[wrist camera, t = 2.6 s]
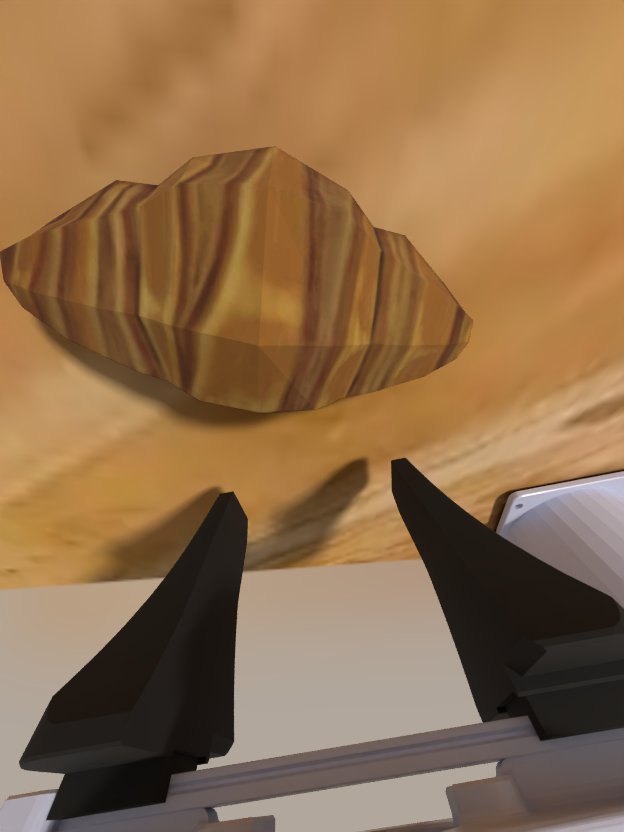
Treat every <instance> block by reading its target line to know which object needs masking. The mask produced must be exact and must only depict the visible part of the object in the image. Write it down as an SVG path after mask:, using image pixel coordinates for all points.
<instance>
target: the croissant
mask: <svg viewBox="0 0 624 832" xmlns="http://www.w3.org/2000/svg"><path fill="white" fill-rule="evenodd" d="M0 259H1V265H2V272H3V279H4V282H5V283H6V285H7V286H8V287H9V289H10V290H11V292H12V293H13V294H14V296H15V297H16V299H17V300H18V302H19V303H20V304H21V306H22V307H23V308H24V309H26V310H27V311H28V312H30V313H31V314H33V315H34V316H35V317H37V318H38V319H40V320H41V321H43V322H44V323H45V324H47V325H48V326H50V327H51V328H52V329H54V330H55V331H57V332H58V333H60V334H61V335H62V336H64V337H65V338H67V339H68V340H70V341H73V342H75V343H77V344H79V345H81V346H83V347H85V348H88V349H90V350H92V351H94V352H96V353H98V354H101V355H103V356H105V357H107V358H109V359H111V360H114V361H116V362H118V363H120V364H122V365H124V366H127V367H129V368H131V369H133V370H135V371H138V372H141V373H144V374H147V375H150V376H153V377H156V378H159V379H163V380H166V381H168V382H170V383H171V384H173V385H175V386H176V387H178V388H180V389H181V390H183V391H185V392H186V393H188V394H190V395H191V396H193V397H194V398H196V399H198V400H199V401H204V402H209V403H214V404H218V405H223V406H228V407H233V408H238V409H242V410H247V411H252V412H257V413H275V412H289V411H304V410H316V409H318V408H321V407H323V406H325V405H328V404H330V403H332V402H335V401H337V400H339V399H342V398H344V397H348V396H354V395H360V394H365V393H371V392H375V391H378V390H382V389H385V388H388V387H391V386H395V385H398V384H401V383H405V382H408V381H411V380H414V379H418V378H421V377H424V376H426V375H428V374H429V373H431V372H433V371H435V370H437V369H439V368H440V367H442V366H444V365H446V364H448V363H449V362H451V361H453V360H455V359H456V358H457V357H458V355H459V354H460V353H461V351H462V350H463V349H464V347H465V346H466V345H467V343H468V342H469V339H470V334H471V330H472V325H473V320H472V319H471V318H470V317H469V316H468V315H467V314H466V313H465V311H464V310H463V309H462V307H461V306H460V305H459V303H458V302H457V301H456V299H455V298H454V297H453V295H452V294H451V292H450V291H449V290H448V288H447V287H446V286H445V284H444V283H443V282H442V281H441V279H440V278H439V277H438V276H437V274H436V273H435V272H434V271H433V270H432V268H431V267H430V266H429V265H428V263H427V262H426V261H425V260H424V258H423V257H422V256H421V255H420V253H419V252H418V251H417V250H416V249H415V247H414V246H413V245H412V244H411V242H410V241H409V240H408V239H407V237H406V236H405V235H401V234H397V233H394V232H390V231H386V230H382V229H379V228H375V227H373V225H372V224H371V223H370V221H369V220H368V218H367V217H366V215H365V214H364V212H363V211H362V210H361V208H360V207H359V205H358V204H357V202H356V201H355V200H354V198H353V197H352V195H351V194H350V192H349V191H348V190H347V189H345V188H343V187H342V186H340V185H338V184H337V183H335V182H333V181H332V180H330V179H328V178H327V177H325V176H323V175H322V174H320V173H318V172H317V171H315V170H313V169H312V168H310V167H308V166H307V165H305V164H303V163H302V162H300V161H298V160H297V159H295V158H294V157H292V156H290V155H289V154H287V153H285V152H284V151H282V150H280V149H279V148H277V147H275V146H274V147H266V148H259V149H252V150H244V151H237V152H230V153H222V154H215V155H208V156H200V157H193V158H192V159H190V160H189V161H188V162H187V163H185V164H184V165H183V166H182V167H180V168H179V169H178V170H177V171H176V172H174V173H173V174H172V175H171V176H169V177H168V178H167V179H166V180H164V181H163V182H162V183H161V184H160V185H150V184H142V183H134V182H126V181H119V180H116V181H114V182H113V183H111V184H110V185H108V186H106V187H105V188H103V189H102V190H100V191H98V192H97V193H95V194H94V195H92V196H90V197H89V198H87V199H86V200H84V201H82V202H81V203H79V204H78V205H76V206H74V207H73V208H71V209H70V210H68V211H66V212H65V213H63V214H62V215H60V216H58V217H57V218H55V219H54V220H52V221H51V222H49V223H48V224H47V225H45V226H44V227H42V228H41V229H40V230H38V231H37V232H35V233H34V234H32V235H31V236H29V237H27V238H25V239H24V240H22V241H20V242H18V243H16V244H14V245H12V246H10V247H8V248H6V249H4V250H2V251H0Z"/></svg>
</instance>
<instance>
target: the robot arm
mask: <svg viewBox="0 0 624 832" xmlns="http://www.w3.org/2000/svg"><path fill="white" fill-rule="evenodd" d="M391 474H392V493H393V496H394V499H395V502H396V504H397V507H398V510H399V512H400V515H401V517H402V519H403V521H404V523H405V525H406V527H407V529H408V531H409V533H410V535H411V537H412V539H413V541H414V543H415V545H416V547H417V550H418V552H419V554H420V556H421V558H422V560H423V562H424V564H425V566H426V568H427V571H428V573H429V576H430V578H431V581H432V584H433V586H434V589H435V591H436V594H437V596H438V599H439V602H440V604H441V607H442V610H443V613H444V615H445V618H446V621H447V623H448V626H449V629H450V632H451V634H452V637H453V640H454V643H455V646H456V648H457V651H458V654H459V657H460V660H461V663H462V666H463V669H464V672H465V674H466V677H467V680H468V683H469V686H470V689H471V692H472V695H473V698H474V701H475V704H476V707H477V710H478V712H479V715H480V717H481V719H482V722H483V723H479V724H473V725H467V726H461V727H455V728H449V729H443V730H437V731H431V732H425V733H419V734H413V735H407V736H401V737H396V738H389V739H383V740H377V741H372V742H365V743H359V744H353V745H347V746H341V747H336V748H329V749H323V750H318V751H312V752H305V753H299V754H293V755H287V756H281V757H276V758H269V759H263V760H257V761H251V762H246V763H240V764H233V765H227V766H222V767H216V768H210V769H203V770H198V771H196V769H197V765H201V764H207V763H208V761H209V758H215V757H221V756H225V755H226V754H227V753H228V751H229V750H230V748H231V746H232V744H233V742H234V668H235V666H234V664H235V641H236V624H237V608H238V598H239V592H240V584H241V579H242V572H243V566H244V559H245V552H246V545H247V529H248V518H247V516H246V515H245V513H244V511H243V509H242V507H241V505H240V503H239V501H238V499H237V497H236V496H235V494H234V492H228V493H223V494H220V495H219V497H218V498H217V500H216V501H215V503H214V505H213V506H212V508H211V510H210V511H209V513H208V515H207V516H206V518H205V520H204V521H203V523H202V525H201V526H200V528H199V529H198V531H197V532H196V534H195V536H194V537H193V539H192V540H191V542H190V543H189V545H188V546H187V548H186V549H185V551H184V552H183V554H182V555H181V556H180V558H179V559H178V561H177V562H176V564H175V565H174V566H173V568H172V569H171V570H170V572H169V573H168V574H167V576H166V577H165V578H164V580H163V581H162V582H161V584H160V585H159V586H158V587H157V589H156V590H155V591H154V592H153V594H152V595H151V596H150V597H149V598H148V599H147V601H146V602H145V603H144V604H143V605H142V606H141V607H140V609H139V610H138V611H137V612H136V613H135V615H134V616H133V617H132V618H131V619H130V620H129V621H128V622H127V623H126V625H125V626H124V627H123V628H122V629H121V630H120V631H119V632H118V633H117V634H116V635H115V636H114V637H113V638H112V639H111V641H109V642H108V644H107V645H106V646H105V647H104V648H103V649H102V650H101V651H100V652H99V653H98V654H97V655H96V656H95V657H94V658H93V659H92V660H91V661H90V662H89V663H88V664H86V665H85V666H84V668H82V669H81V670H80V671H79V672H78V673H77V674H76V675H75V676H74V677H73V678H72V679H71V680H70V681H69V682H68V683H67V684H65V685H64V686H63V687H62V688H61V689H60V690H59V691H58V692H57V693H56V694H55V695H54V696H53V697H52V699H51V701H50V703H49V705H48V706H47V708H46V710H45V712H44V714H43V716H42V718H41V720H40V722H39V724H38V726H37V728H36V730H35V732H34V734H33V736H32V738H31V740H30V742H29V744H28V745H27V747H26V749H25V751H24V753H23V755H22V757H21V759H20V761H19V764H20V767H21V768H22V769H24V770H30V771H39V772H51V773H62V774H65V775H64V778H63V780H62V782H61V785H60V787H59V789H54V790H45V791H38V792H32V793H26V794H20V795H15V796H9V797H8V798H7V799H6V800H5V801H4V803H3V805H2V807H1V809H0V832H275V818H274V816H273V815H270V816H262V817H250V818H243V819H236V820H229V821H222V822H220V821H219V820H218V816H217V813H216V811H215V810H214V809H213V808H215V807H221V806H227V805H233V804H239V803H246V802H252V801H258V800H264V799H270V798H276V797H283V796H288V795H295V794H301V793H307V792H313V791H319V790H326V789H331V788H338V787H344V786H350V785H356V784H362V783H369V782H375V781H380V780H387V779H393V778H399V777H405V776H412V775H417V774H424V773H430V772H436V771H442V770H448V769H454V768H461V767H467V766H473V765H479V764H485V763H492V762H498V761H500V762H498V763H497V766H496V777H494V778H488V779H482V780H476V781H470V782H465V783H459V784H453V785H452V786H449V787H447V788H446V795H447V798H448V802H449V805H450V808H451V812H452V816H453V818H449V819H442V820H435V821H428V822H420V823H413V824H407V825H400V826H392V827H386V828H379V829H373V830H367V831H361V832H624V471H622V472H616V473H611V474H606V475H601V476H595V477H590V478H585V479H579V480H574V481H569V482H564V483H558V484H553V485H548V486H542V487H537V488H532V489H526V490H521V491H517V492H514V493H512V494H511V495H510V496H509V497H508V500H507V502H506V505H505V508H504V511H503V513H502V516H501V519H500V522H499V524H498V527H497V530H496V532H494V531H493V530H491V529H490V528H488V527H487V526H485V525H484V524H483V523H481V522H480V521H478V520H477V519H476V518H474V517H473V516H471V515H470V514H469V513H467V512H466V511H465V510H464V509H462V508H461V507H460V506H458V505H457V504H456V503H455V502H453V501H452V500H451V499H450V498H449V497H447V496H446V495H445V494H444V493H443V492H442V491H440V490H439V489H438V488H437V487H436V486H435V485H433V484H432V483H431V482H430V481H429V480H428V479H427V478H426V477H425V476H424V475H423V474H422V473H421V472H419V471H418V470H417V469H416V468H415V467H414V466H413V465H412V464H411V463H410V462H409V461H408V460H407V459H406V458H401V459H396V460H391Z"/></svg>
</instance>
